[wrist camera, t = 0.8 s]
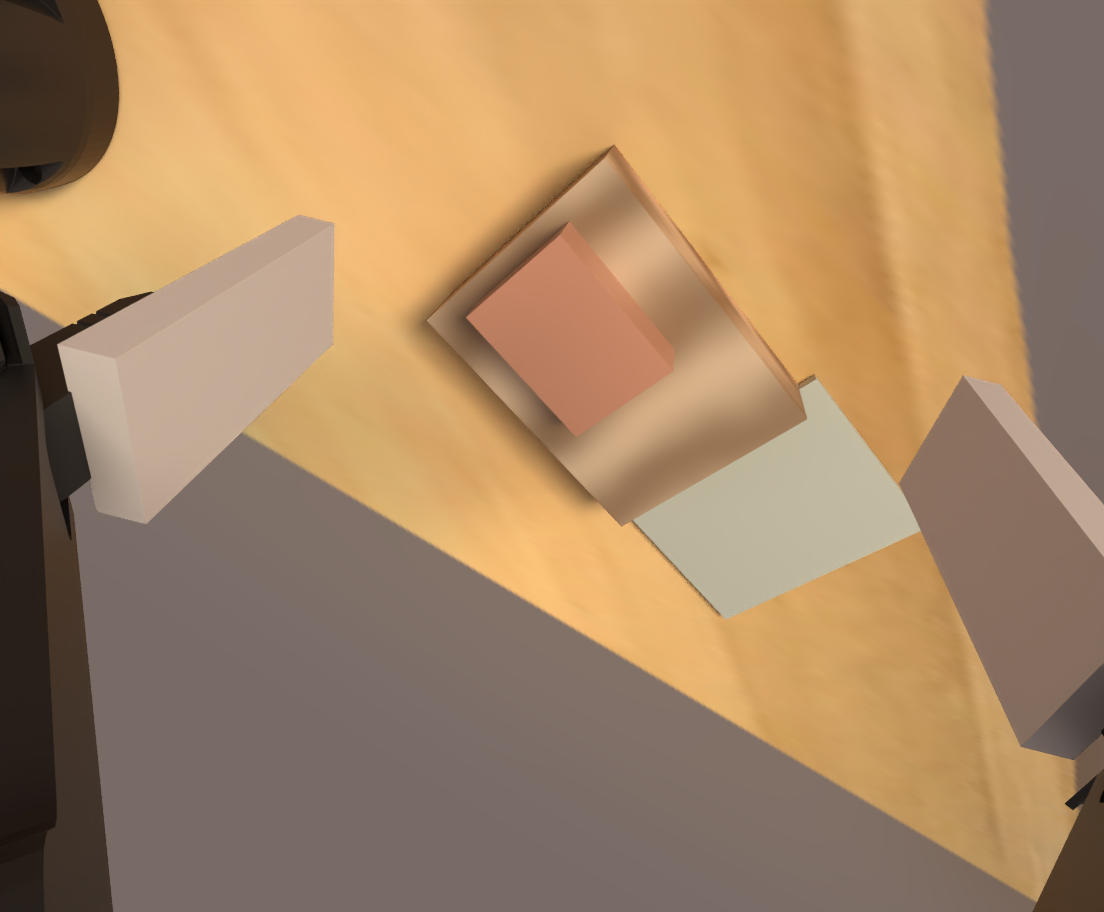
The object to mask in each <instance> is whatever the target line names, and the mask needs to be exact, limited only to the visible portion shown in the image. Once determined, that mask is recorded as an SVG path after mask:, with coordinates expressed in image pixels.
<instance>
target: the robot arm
mask: <svg viewBox="0 0 1104 912" xmlns="http://www.w3.org/2000/svg"><path fill="white" fill-rule="evenodd" d="M118 101H119V87H118V74H117V65H116V60H115V54H114V50H113V45H112V41H111V37H110V34H109V31H108V27H107V24H106V22H105V19H104V16H103V13H102V11H101V8H100V6H99V3H98V1H97V0H0V194H21V193H30V192H36V191H40V190H44V189H48V188H52V187H56V186H60V185H64V184H67V183H70V182H72V181H75V180H76V179H78V178H80V177H82V176H83V175H85V174H86V173H87V172H89V171H90V170H91V169H92V168H93V167H94V166H95V165H96V164H97V163H98V161H99V160H100V159H101V157H102V156H103V154H104V153H105V151H106V149H107V147H108V145H109V143H110V140H111V138H112V135H113V132H114V128H115V124H116V119H117V112H118ZM333 291H334V223H331V222H326V221H322V220H318V219H314V218H310V217H306V216H302V215H297V216H295V217H293V218H291V219H290V220H288V221H286V222H284V223H282V224H280V225H278V226H277V227H275V228H273V229H271V230H269V231H267V232H265V233H264V234H262V235H260V236H258V237H256V238H254V239H252V240H251V241H249V242H247V243H245V244H243V245H241V246H239V247H238V248H236V249H234V250H232V251H230V252H228V253H226V254H225V255H223V256H221V257H219V258H217V259H215V260H213V261H212V262H210V263H208V264H206V265H204V266H202V267H200V268H199V269H197V270H195V271H193V272H191V273H189V274H187V275H185V276H184V277H182V278H180V279H178V280H176V281H174V282H172V283H171V284H169V285H167V286H165V287H163V288H161V289H159V290H158V291H156V292H147V293H143V294H139V295H135V296H131V297H127V298H123V299H119V300H117V301H115V302H113V303H111V304H109V305H107V306H105V307H104V308H102V309H100V310H98V311H96V314H90V315H88V316H86V317H84V318H82V319H80V320H78V321H77V325H76V324H71V325H69V326H67V327H65V328H63V329H61V330H59V331H57V332H56V333H53V334H51V335H49V336H48V337H46V338H44V339H42V340H40V341H38V342H36V343H34V344H32V345H29V341H28V337H27V333H26V329H25V325H24V322H23V318H22V314H21V310H20V306H19V304H18V303H17V301H16V300H15V298H14V297H11V296H9V295H7V294H5V293H3V292H1V291H0V912H113V907H112V897H111V886H110V877H109V867H108V856H107V846H106V836H105V826H104V815H103V807H102V806H103V805H102V795H101V785H100V775H99V766H98V755H97V745H96V735H95V725H94V714H93V704H92V694H91V685H90V674H89V664H88V654H87V644H86V635H85V634H86V633H85V623H84V613H83V603H82V593H81V582H80V573H79V563H78V553H77V543H76V532H75V522H74V514H73V509H72V506H71V502H70V498H69V496H70V495H71V494H72V493H73V492H74V491H76V490H77V489H78V488H80V487H81V486H82V485H83V484H85V483H86V482H87V481H88V480H89V481H90V486H91V490H92V494H93V498H94V503H95V507H96V511H97V512H100V513H104V514H108V515H112V516H116V517H120V518H123V519H127V520H131V521H136V522H139V523H143V524H147V523H148V522H149V521H150V520H151V519H152V518H153V517H154V516H155V515H156V514H157V513H158V512H159V511H160V510H161V509H162V508H163V507H164V506H165V505H167V504H168V503H169V502H170V501H171V500H172V499H173V498H174V497H175V496H176V495H177V494H178V493H179V492H180V491H181V490H182V489H183V488H184V487H185V486H186V485H187V484H188V483H189V482H190V481H191V480H192V479H193V478H194V477H196V476H197V475H198V474H199V473H200V472H201V470H203V469H204V468H205V467H206V466H207V465H208V464H209V463H210V462H211V461H212V460H213V459H214V458H215V457H216V456H217V455H218V454H219V453H220V452H221V451H223V449H225V448H226V447H227V446H228V445H229V444H230V443H231V442H232V441H233V440H234V439H235V438H236V437H237V436H238V435H239V434H240V433H241V432H242V431H243V430H244V429H245V428H246V427H247V426H248V425H249V424H251V423H252V422H253V421H254V420H255V419H256V418H257V417H258V416H259V415H260V414H261V413H262V412H263V411H264V410H265V409H266V408H267V407H268V406H269V405H270V404H271V403H272V402H273V401H274V400H275V399H276V398H277V397H279V396H280V395H281V394H282V393H283V392H284V391H285V390H286V389H287V388H288V387H289V386H290V385H291V384H292V383H293V382H294V381H295V380H296V379H297V378H298V377H299V376H300V375H301V374H302V373H303V372H304V371H305V370H306V369H308V368H309V367H310V366H311V365H312V364H313V363H314V362H315V361H316V360H317V359H318V358H319V357H320V356H321V355H322V354H323V353H324V352H325V351H326V350H327V349H328V348H329V347H330V346H331V345H332V344H333ZM899 485H900V487H901V489H902V491H903V493H904V495H905V498H906V500H907V502H908V504H909V506H910V508H911V511H912V513H913V515H914V517H915V519H916V521H917V523H918V526H919V528H920V530H921V532H922V534H923V536H924V539H925V541H926V543H927V545H928V547H929V549H930V552H931V554H932V556H933V558H934V560H935V562H936V565H937V567H938V569H939V571H940V573H941V575H942V577H943V580H944V582H945V584H946V586H947V588H948V590H949V593H950V595H951V597H952V599H953V601H954V603H955V606H956V608H957V610H958V612H959V614H960V616H961V618H962V621H963V623H964V625H965V627H966V629H967V631H968V634H969V636H970V638H971V640H972V642H973V644H974V647H975V649H976V651H977V653H978V655H979V657H980V660H981V662H982V664H983V666H984V668H985V670H986V672H987V675H988V677H989V679H990V681H991V683H992V685H993V688H994V690H995V692H996V694H997V696H998V698H999V701H1000V703H1001V705H1002V707H1003V709H1004V711H1005V714H1006V716H1007V718H1008V720H1009V722H1010V724H1011V726H1012V729H1013V731H1014V733H1015V735H1016V737H1017V739H1018V742H1019V744H1020V746H1021V747H1024V748H1028V749H1032V750H1036V751H1040V752H1044V753H1048V754H1052V755H1056V756H1060V757H1063V758H1067V759H1071V760H1074V759H1075V758H1076V757H1077V756H1078V755H1080V754H1081V753H1082V752H1083V751H1084V750H1085V749H1086V748H1087V747H1088V746H1089V745H1090V744H1091V743H1093V742H1094V741H1095V739H1097V738H1098V737H1099V736H1100V735H1101V734H1103V736H1104V505H1103V504H1102V502H1101V501H1100V500H1099V499H1098V498H1097V497H1096V495H1095V494H1094V493H1093V492H1092V491H1091V490H1090V488H1089V487H1088V486H1087V485H1086V484H1085V483H1084V481H1083V480H1082V479H1081V478H1080V477H1079V476H1078V475H1077V473H1076V472H1075V471H1074V470H1073V469H1072V467H1071V466H1070V465H1069V464H1068V463H1067V462H1066V460H1065V459H1064V458H1063V457H1062V456H1061V455H1060V453H1059V452H1058V451H1057V450H1056V449H1055V448H1054V446H1053V445H1052V444H1051V443H1050V442H1049V441H1048V439H1047V438H1046V437H1045V436H1044V435H1043V434H1042V432H1041V431H1040V430H1039V429H1038V428H1037V427H1036V425H1035V424H1034V423H1033V422H1032V421H1031V420H1030V418H1029V417H1028V416H1027V415H1026V414H1025V412H1024V411H1023V410H1022V409H1021V408H1020V407H1019V405H1018V404H1017V403H1016V402H1015V401H1014V400H1013V398H1012V397H1011V396H1010V395H1009V394H1008V393H1007V391H1006V390H1005V389H1004V388H1003V387H1002V386H1001V385H1000V384H996V383H992V382H988V381H984V380H980V379H976V378H971V377H967V376H962V378H961V380H960V381H959V383H958V385H957V386H956V388H955V390H954V391H953V393H952V395H951V397H950V398H949V400H948V402H947V403H946V405H945V407H944V408H943V410H942V412H941V413H940V415H939V417H938V418H937V420H936V422H935V423H934V425H933V427H932V429H931V430H930V432H929V434H928V435H927V437H926V439H925V440H924V442H923V444H922V445H921V447H920V449H919V450H918V452H917V454H916V455H915V457H914V459H913V461H912V462H911V464H910V466H909V467H908V469H907V471H906V472H905V474H904V476H903V477H902V479H901V481H900V482H899ZM1065 804H1066V805H1067V806H1068V807H1069V808H1071V809H1072V810H1074V809H1075V808H1076V807H1078V806H1079V805H1081V804H1084V805H1083V807H1082V809H1081V811H1080V813H1079V815H1078V817H1077V819H1076V821H1075V823H1074V826H1073V828H1072V830H1071V832H1070V834H1069V836H1068V838H1067V840H1066V842H1065V845H1064V847H1063V849H1062V851H1061V853H1060V855H1059V857H1058V859H1057V861H1056V863H1055V866H1054V868H1053V870H1052V872H1051V874H1050V876H1049V878H1048V880H1047V882H1046V884H1045V887H1044V889H1043V891H1042V893H1041V895H1040V897H1039V899H1038V901H1037V903H1036V906H1035V908H1034V910H1033V912H1104V770H1102V771H1101V772H1100V773H1099V774H1098V775H1097V776H1095V777H1094V778H1093V779H1092V780H1091V781H1090V782H1089V783H1088V784H1086V785H1085V786H1084V787H1083V788H1082V789H1081V790H1080V791H1078V792H1077V793H1076V794H1075V795H1074V796H1073V797H1072V798H1070V799H1069V800H1068V801H1067V802H1066V803H1065Z"/></svg>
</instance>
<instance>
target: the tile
mask: <svg viewBox="0 0 1104 912" xmlns="http://www.w3.org/2000/svg"><path fill="white" fill-rule="evenodd" d="M466 318H467V319H468V320H469V321H470V323H471V324H472V325H473V326H474V327H475V328H476V329H477V330H478V331H479V332H480V333H481V334H482V336H483V337H484V338H485V339H486V340H487V341H488V342H489V343H490V344H491V345H492V346H493V347H494V349H495V350H496V351H497V352H498V353H499V354H500V355H501V356H502V357H503V358H504V359H505V360H506V362H507V363H508V364H509V365H510V366H511V367H512V368H513V369H514V370H515V371H516V372H517V373H518V375H519V376H520V377H521V378H522V379H523V380H524V381H525V382H526V383H527V384H528V385H529V386H530V388H531V389H532V390H533V391H534V392H535V393H536V394H537V395H538V396H539V397H540V398H541V399H542V401H543V402H544V403H545V404H546V405H547V406H548V407H549V408H550V409H551V410H552V411H553V412H554V414H555V415H556V416H557V417H558V418H559V419H560V420H561V421H562V422H563V423H564V424H565V425H566V427H567V428H568V429H569V430H570V431H571V432H572V433H573V434H574V435H575V436H576V437H577V436H579V435H580V434H582V433H583V432H585V431H586V430H588V429H589V428H591V427H592V426H593V425H595V424H596V423H598V422H599V421H601V420H602V419H604V418H605V417H607V416H608V415H610V414H611V413H613V412H614V411H616V410H617V409H618V408H620V407H621V406H623V405H624V404H626V403H627V402H629V401H630V400H632V399H633V398H635V397H636V396H638V395H639V394H640V393H642V392H643V391H645V390H646V389H648V388H649V387H651V386H652V385H654V384H655V383H657V382H658V381H660V380H661V379H662V378H664V377H665V376H667V375H668V374H670V373H671V372H673V369H674V356H675V349H674V348H673V347H672V346H671V344H670V343H669V342H668V341H667V340H666V338H665V337H664V336H663V335H662V333H661V332H660V331H659V330H658V329H657V327H656V326H655V325H654V324H653V323H652V321H651V320H650V319H649V318H648V316H647V315H646V314H645V313H644V312H643V310H642V309H641V308H640V307H639V305H638V304H637V303H636V302H635V301H634V299H633V298H632V297H631V296H630V294H629V293H628V292H627V291H626V290H625V288H624V287H623V286H622V285H621V284H620V282H619V281H618V280H617V279H616V277H615V276H614V275H613V274H612V273H611V271H610V270H609V269H608V268H607V266H606V265H605V264H604V263H603V262H602V260H601V259H600V258H599V257H598V255H597V254H596V253H595V252H594V251H593V249H592V248H591V247H590V246H589V245H588V243H587V242H586V241H585V240H584V238H583V237H582V236H581V235H580V234H579V232H578V231H577V230H576V229H575V227H574V226H573V225H572V224H571V223H570V221H569V222H568V223H567V224H565V225H564V226H563V227H562V228H561V229H560V230H559V231H558V232H556V233H555V234H554V235H553V236H552V237H551V238H550V239H548V240H547V241H546V242H545V243H544V244H543V245H542V246H541V247H539V248H538V249H537V250H536V251H535V252H534V253H533V254H531V255H530V256H529V257H528V258H527V259H526V260H525V261H524V262H522V263H521V264H520V265H519V266H518V267H517V268H516V269H514V270H513V271H512V272H511V273H510V274H509V275H508V276H507V277H505V278H504V279H503V280H502V281H501V282H500V283H499V284H497V285H496V286H495V287H494V288H493V289H492V290H491V291H490V292H488V293H487V294H486V295H485V296H484V297H483V298H482V299H480V301H479V302H478V303H477V304H476V306H475V307H474V308H473V309H472V311H471V312H470V313H469V314H468V316H467V317H466Z"/></svg>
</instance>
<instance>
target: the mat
mask: <svg viewBox="0 0 1104 912" xmlns="http://www.w3.org/2000/svg"><path fill="white" fill-rule="evenodd" d="M798 387H799V390H800V394H801V398H802V401H803V405H804V409H805V412H806V416H807V420H805V421H803V422H802V423H800V424H798V425H797V426H795V427H793V428H791V429H790V430H788V431H786V432H784V433H783V434H781V435H779V436H777V437H776V438H774V439H772V440H771V441H769V442H767V443H765V444H764V445H762V446H760V447H758V448H757V449H755V450H753V451H751V452H750V453H748V454H746V455H745V456H743V457H741V458H739V459H738V460H736V461H734V462H732V463H731V464H729V465H727V466H725V467H724V468H722V469H720V470H719V471H717V472H715V473H713V474H712V475H710V476H708V477H706V478H705V479H703V480H701V481H699V482H698V483H696V484H694V485H693V486H691V487H689V488H687V489H686V490H684V491H682V492H680V493H679V494H677V495H675V496H673V497H672V498H670V499H668V500H667V501H665V502H663V503H661V504H660V505H658V506H656V507H654V508H653V509H651V510H649V511H647V512H646V513H644V514H642V515H641V516H639V517H637V518H635V519H634V520H633V521H634V522H635V523H636V524H637V525H638V526H639V528H640V529H641V530H642V531H643V532H644V533H645V534H646V535H647V536H648V537H649V538H650V539H651V540H652V541H653V543H654V544H655V545H656V546H657V547H658V548H659V549H660V550H661V551H662V552H663V553H664V554H665V555H666V556H667V557H668V559H669V560H670V561H671V562H672V563H673V564H674V565H675V566H676V567H677V568H678V569H679V570H680V571H681V572H682V573H683V575H684V576H685V577H686V578H687V579H688V580H689V581H690V582H691V583H692V584H693V585H694V586H695V587H696V588H697V590H698V591H699V592H700V593H701V594H702V595H703V596H704V597H705V598H706V599H707V600H708V601H709V602H710V603H711V604H712V606H713V607H714V608H715V609H716V610H717V611H718V612H719V613H720V614H721V615H722V616H723V617H724V618H725V619H728V618H730V617H733V616H735V615H737V614H739V613H741V612H744V611H746V610H748V609H750V608H752V607H754V606H757V605H759V604H761V603H763V602H765V601H768V600H770V599H772V598H774V597H776V596H779V595H781V594H783V593H785V592H787V591H790V590H792V589H794V588H796V587H798V586H801V585H803V584H805V583H807V582H809V581H812V580H814V579H816V578H818V577H820V576H823V575H825V574H827V573H829V572H831V571H834V570H836V569H838V568H840V567H842V566H845V565H847V564H849V563H851V562H853V561H856V560H858V559H860V558H862V557H864V556H867V555H869V554H871V553H873V552H875V551H878V550H880V549H882V548H884V547H886V546H889V545H891V544H893V543H895V542H897V541H900V540H902V539H904V538H906V537H908V536H911V535H913V534H915V533H917V532H919V531H921V530H920V528H919V526H918V523H917V521H916V519H915V517H914V515H913V513H912V511H911V508H910V506H909V504H908V502H907V500H906V498H905V495H904V493H903V491H902V490H901V489H900V487H899V486H898V485H897V483H896V482H895V481H894V479H893V478H892V477H891V475H890V474H889V473H888V471H887V470H886V469H885V467H884V466H883V465H882V463H881V462H880V461H879V459H878V458H877V457H876V455H875V454H874V453H873V451H872V450H871V449H870V447H869V446H868V445H867V443H866V442H865V441H864V439H863V438H862V437H861V435H860V434H859V433H858V431H857V430H856V429H855V427H854V426H853V425H852V423H851V422H850V421H849V419H848V418H847V417H846V415H845V414H844V413H843V411H842V410H841V409H840V407H839V406H838V405H837V403H836V402H835V401H834V399H833V398H832V397H831V395H830V394H829V393H828V391H827V390H826V389H825V387H824V386H823V385H822V383H821V382H820V381H819V379H818V378H817V377H816V375H813V376H811V377H810V378H808V379H806V380H805V381H803V382H802V383H800V384H798Z"/></svg>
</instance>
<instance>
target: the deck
mask: <svg viewBox="0 0 1104 912" xmlns="http://www.w3.org/2000/svg"><path fill="white" fill-rule="evenodd" d="M569 221H570V223H571V224H572V225H573V226H574V227H575V229H576V230H577V231H578V232H579V234H580V235H581V236H582V237H583V238H584V240H585V241H586V242H587V243H588V245H589V246H590V247H591V248H592V249H593V251H594V252H595V253H596V254H597V255H598V257H599V258H600V259H601V260H602V262H603V263H604V264H605V265H606V266H607V268H608V269H609V270H610V271H611V273H612V274H613V275H614V276H615V277H616V279H617V280H618V281H619V282H620V284H621V285H622V286H623V287H624V288H625V290H626V291H627V292H628V293H629V294H630V296H631V297H632V298H633V299H634V301H635V302H636V303H637V304H638V305H639V307H640V308H641V309H642V310H643V312H644V313H645V314H646V315H647V316H648V318H649V319H650V320H651V321H652V323H653V324H654V325H655V326H656V327H657V329H658V330H659V331H660V332H661V333H662V335H663V336H664V337H665V338H666V340H667V341H668V342H669V343H670V344H671V346H672V347H673V348H674V349H675V356H674V369H673V372H671V373H670V374H668V375H667V376H665V377H664V378H662V379H661V380H660V381H658V382H657V383H655V384H654V385H652V386H651V387H649V388H648V389H646V390H645V391H643V392H642V393H640V394H639V395H638V396H636V397H635V398H633V399H632V400H630V401H629V402H627V403H626V404H624V405H623V406H621V407H620V408H618V409H617V410H616V411H614V412H613V413H611V414H610V415H608V416H607V417H605V418H604V419H602V420H601V421H599V422H598V423H596V424H595V425H593V426H592V427H591V428H589V429H588V430H586V431H585V432H583V433H582V434H580V435H579V436H577V437H576V436H575V435H574V434H573V433H572V432H571V431H570V430H569V429H568V428H567V427H566V425H565V424H564V423H563V422H562V421H561V420H560V419H559V418H558V417H557V416H556V415H555V414H554V412H553V411H552V410H551V409H550V408H549V407H548V406H547V405H546V404H545V403H544V402H543V401H542V399H541V398H540V397H539V396H538V395H537V394H536V393H535V392H534V391H533V390H532V389H531V388H530V386H529V385H528V384H527V383H526V382H525V381H524V380H523V379H522V378H521V377H520V376H519V375H518V373H517V372H516V371H515V370H514V369H513V368H512V367H511V366H510V365H509V364H508V363H507V362H506V360H505V359H504V358H503V357H502V356H501V355H500V354H499V353H498V352H497V351H496V350H495V349H494V347H493V346H492V345H491V344H490V343H489V342H488V341H487V340H486V339H485V338H484V337H483V336H482V334H481V333H480V332H479V331H478V330H477V329H476V328H475V327H474V326H473V325H472V324H471V323H470V321H469V320H468V319H467V318H466V317H467V316H468V314H469V313H470V312H471V311H472V309H473V308H474V307H475V306H476V304H477V303H478V302H479V301H480V299H482V298H483V297H484V296H485V295H486V294H487V293H488V292H490V291H491V290H492V289H493V288H494V287H495V286H496V285H497V284H499V283H500V282H501V281H502V280H503V279H504V278H505V277H507V276H508V275H509V274H510V273H511V272H512V271H513V270H514V269H516V268H517V267H518V266H519V265H520V264H521V263H522V262H524V261H525V260H526V259H527V258H528V257H529V256H530V255H531V254H533V253H534V252H535V251H536V250H537V249H538V248H539V247H541V246H542V245H543V244H544V243H545V242H546V241H547V240H548V239H550V238H551V237H552V236H553V235H554V234H555V233H556V232H558V231H559V230H560V229H561V228H562V227H563V226H564V225H565V224H567V223H568V222H569ZM427 322H428V323H429V324H430V325H431V326H432V327H433V328H434V329H435V330H436V331H437V332H438V333H439V334H440V335H441V336H442V337H443V339H444V340H445V341H446V342H447V343H448V344H449V345H450V346H451V347H452V348H453V349H454V350H455V351H456V352H457V353H458V354H459V355H460V357H461V358H462V359H463V360H464V361H465V362H466V363H467V364H468V365H469V366H470V367H471V368H472V369H473V370H474V371H475V372H476V373H477V374H478V376H479V377H480V378H481V379H482V380H483V381H484V382H485V383H486V384H487V385H488V386H489V387H490V388H491V389H492V390H493V391H494V392H495V393H496V395H497V396H498V397H499V398H500V399H501V400H502V401H503V402H504V403H505V404H506V405H507V406H508V407H509V408H510V409H511V410H512V411H513V412H514V414H515V415H516V416H517V417H518V418H519V419H520V420H521V421H522V422H523V423H524V424H525V425H526V426H527V427H528V428H529V429H530V430H531V431H532V433H533V434H534V435H535V436H536V437H537V438H538V439H539V440H540V441H541V442H542V443H543V444H544V445H545V446H546V447H547V448H548V449H549V451H550V452H551V453H552V454H553V455H554V456H555V457H556V458H557V459H558V460H559V461H560V462H561V463H562V464H563V465H564V466H565V467H566V468H567V470H568V471H569V472H570V473H571V474H572V475H573V476H574V477H575V478H576V479H577V480H578V481H579V482H580V483H581V484H582V485H583V486H584V487H585V489H586V490H587V491H588V492H589V493H590V494H591V495H592V496H593V497H594V498H595V499H596V500H597V501H598V502H599V503H600V504H601V505H602V506H603V508H604V509H605V510H606V511H607V512H608V513H609V514H610V515H611V516H612V517H613V518H614V519H615V520H616V521H617V522H618V523H619V524H620V525H621V527H622V526H623V525H625V524H627V523H628V522H630V521H632V520H634V519H635V518H637V517H639V516H641V515H642V514H644V513H646V512H647V511H649V510H651V509H653V508H654V507H656V506H658V505H660V504H661V503H663V502H665V501H667V500H668V499H670V498H672V497H673V496H675V495H677V494H679V493H680V492H682V491H684V490H686V489H687V488H689V487H691V486H693V485H694V484H696V483H698V482H699V481H701V480H703V479H705V478H706V477H708V476H710V475H712V474H713V473H715V472H717V471H719V470H720V469H722V468H724V467H725V466H727V465H729V464H731V463H732V462H734V461H736V460H738V459H739V458H741V457H743V456H745V455H746V454H748V453H750V452H751V451H753V450H755V449H757V448H758V447H760V446H762V445H764V444H765V443H767V442H769V441H771V440H772V439H774V438H776V437H777V436H779V435H781V434H783V433H784V432H786V431H788V430H790V429H791V428H793V427H795V426H797V425H798V424H800V423H802V422H803V421H805V420H807V416H806V412H805V409H804V405H803V401H802V398H801V394H800V390H799V387H798V384H797V383H796V381H795V380H794V379H793V377H792V376H791V375H790V374H789V372H788V371H787V370H786V368H785V367H784V366H783V364H782V363H781V362H780V360H779V359H778V358H777V357H776V355H775V354H774V353H773V351H772V350H771V349H770V347H769V346H768V345H767V343H766V342H765V341H764V340H763V338H762V337H761V336H760V334H759V333H758V332H757V330H756V329H755V328H754V326H753V325H752V324H751V323H750V321H749V320H748V319H747V317H746V316H745V315H744V313H743V312H742V311H741V309H740V308H739V307H738V306H737V304H736V303H735V302H734V300H733V299H732V298H731V296H730V295H729V294H728V293H727V291H726V290H725V289H724V287H723V286H722V285H721V283H720V282H719V281H718V279H717V278H716V277H715V276H714V274H713V273H712V272H711V270H710V269H709V268H708V266H707V265H706V264H705V262H704V261H703V260H702V259H701V257H700V256H699V255H698V253H697V252H696V251H695V249H694V248H693V247H692V245H691V244H690V243H689V242H688V240H687V239H686V238H685V236H684V235H683V234H682V232H681V231H680V230H679V228H678V227H677V226H676V225H675V223H674V222H673V221H672V219H671V218H670V217H669V215H668V214H667V213H666V211H665V210H664V209H663V208H662V206H661V205H660V204H659V202H658V201H657V200H656V198H655V197H654V196H653V194H652V193H651V192H650V191H649V189H648V188H647V187H646V185H645V184H644V183H643V181H642V180H641V179H640V177H639V176H638V175H637V174H636V172H635V171H634V170H633V168H632V167H631V166H630V164H629V163H628V162H627V160H626V159H625V158H624V157H623V155H622V154H621V153H620V151H619V150H618V149H617V147H616V146H615V145H614V146H613V147H611V148H610V149H609V150H608V151H607V152H606V153H605V154H604V155H603V156H602V157H600V158H599V159H598V160H597V161H596V162H595V163H594V164H593V165H592V166H591V167H590V168H588V169H587V170H586V171H585V172H584V173H583V174H582V175H581V176H580V177H579V178H578V179H576V180H575V181H574V182H573V183H572V184H571V185H570V186H569V187H568V188H567V189H566V190H564V191H563V192H562V193H561V194H560V195H559V196H558V197H557V198H556V199H555V200H553V201H552V202H551V203H550V204H549V205H548V206H547V207H546V208H545V209H544V210H543V211H541V212H540V213H539V214H538V215H537V216H536V217H535V218H534V219H533V220H532V221H531V222H529V223H528V224H527V225H526V226H525V227H524V228H523V229H522V230H521V231H520V232H518V233H517V234H516V235H515V236H514V237H513V238H512V239H511V240H510V241H509V242H508V243H506V244H505V245H504V246H503V247H502V248H501V249H500V250H499V251H498V252H497V253H496V254H494V255H493V256H492V257H491V258H490V259H489V260H488V261H487V262H486V263H485V264H483V265H482V266H481V267H480V268H479V269H478V270H477V271H476V272H475V273H474V274H473V275H471V276H470V277H469V278H468V279H467V280H466V281H465V282H464V283H463V284H462V285H461V286H459V287H458V288H457V289H456V290H455V291H454V292H453V293H452V294H451V295H450V296H449V297H448V298H447V299H446V300H445V301H444V302H443V303H442V304H441V305H440V306H439V308H438V309H437V310H436V311H435V312H434V313H433V314H432V315H431V316H430V317H429V318H428V319H427Z"/></svg>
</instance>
